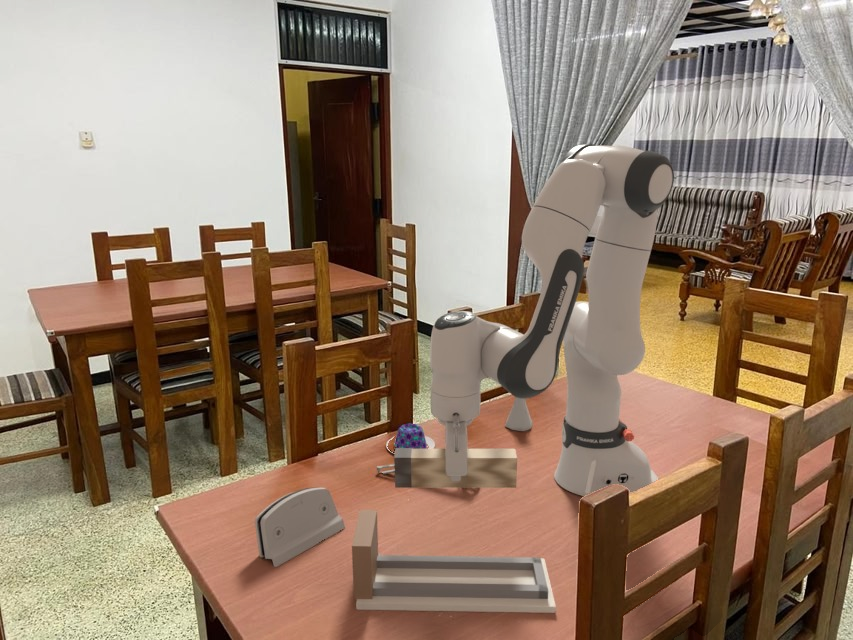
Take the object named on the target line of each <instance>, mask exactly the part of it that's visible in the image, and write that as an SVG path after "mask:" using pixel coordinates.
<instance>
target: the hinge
mask: <svg viewBox="0 0 853 640" xmlns="http://www.w3.org/2000/svg"><path fill="white" fill-rule="evenodd" d="M254 526H255V527H254V528H255V533H256V540H257V547H258V555H259V557H260V558H261V559H262V558H264V559H266V560H267V559H268V560H272V564H273V567H274V568H278V567H279V566H281V565H282V564H285V563H287V562H288V561H289V560H292V559H293V558H295V557H297V556H299V555H301V554H302V553H304V552H306V551H307V550H309V549H311V548H312V547H314V546H316V545H318V544H320V543H321V541H322V540H323V541H325V540H327V539H328V537H329V538H330V537H332V536H333V535H335V534H337V533H339V532H341V531H343V530H344V528H345V529H346V525H345V522H344V519H343V518H342V516H341V515H340V514H339V512H338V509H337V506H336V504H335V502H334V500H333V497H332V495H331V492H330V490H329V489H327V488H325V487H319V486H318V487H316V486H315V487H307V488H302V489H298V490H295V491H293V492H290V493H287V494H285V495H283V496H282V497H279V498H277V499H276V500H274V501H273V502H272V503H270V504H269V505H267V506H266V507H265V508H264V509H263V510H262V511H261V512H260V513H259V514H257V516H256V517H255V519H254ZM342 529H343V530H342ZM340 530H341V531H340ZM324 539H325V540H324ZM323 541H322V542H323ZM319 542H320V543H319Z"/></svg>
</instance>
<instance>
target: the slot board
mask: <svg viewBox="0 0 853 640" xmlns="http://www.w3.org/2000/svg"><path fill="white" fill-rule="evenodd" d="M378 535H379V534H378V510H376V509H375V510H374V509H359V512H358V516H357V521H356V526H355V530H354V534H353V539H352V544H351V556H352V558H351V560H352V561H351V562H352V584H353V586H352V587H353V600H356V602H355V606H356V607H355V609H356V610H360V611H410V612H411V611H414V612H415V611H420V612H421V611H424V612H476V613H477V612H478V613H479V612H480V613H482V612H483V613H485V612H486V613H535V614H536V613H537V614H538V613H540V614H541V613H542V614H547V613H548V614H550V613H551V614H556V609H557V607H556V602H555V596H554V593H553V590H552V584H551V581H550V576H549V573H548V568H547V564H546V560H545V558H543V557H542V558H541V557H534V556H533V557H532V556H530V557H529V556H528V557H527V556H521V557H520V556H476V555H475V556H470V555H469V556H467V555H466V556H465V555H464V556H463V555H460V556H459V555H458V556H457V555H405V554H403V555H400V554H399V555H397V554H396V555H393V554H379V538H378Z"/></svg>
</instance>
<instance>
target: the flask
mask: <svg viewBox="0 0 853 640" xmlns="http://www.w3.org/2000/svg"><path fill="white" fill-rule="evenodd" d="M504 427H505V428H507V429H510V430H511V431H519V432H526V431H528V430H531V429H532V427H533V421H532V417H531V415H530V411H529V409H528V406H527V401H526V399H521V398H517V397H515V396H514V401H513V404H512V407H511V409H510V412H509V414H508V416H507V418H506V421H505V425H504Z"/></svg>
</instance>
